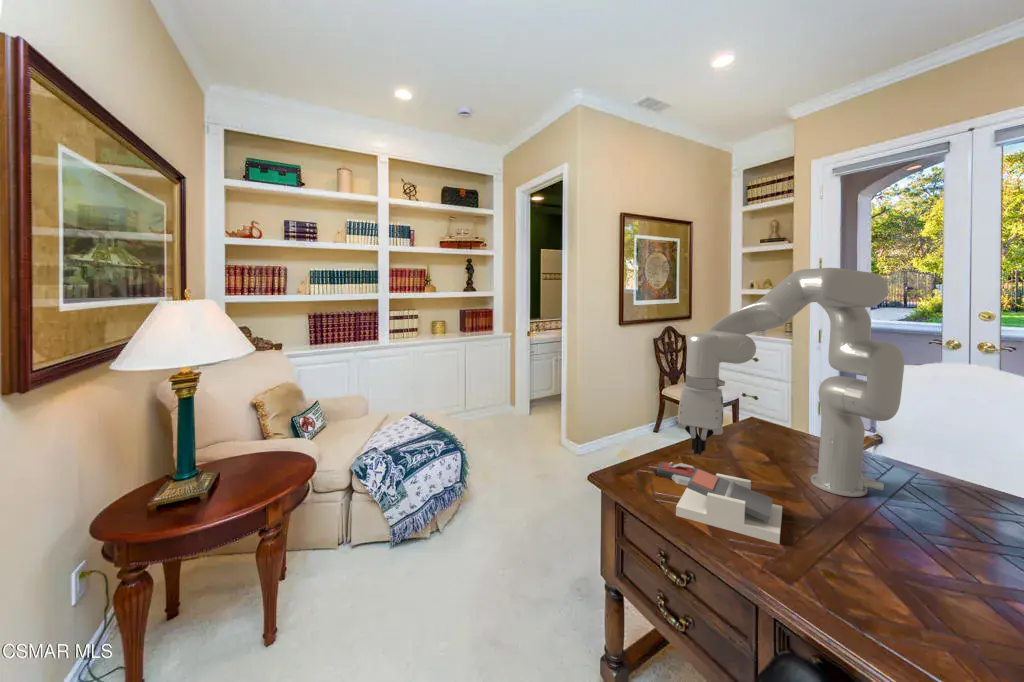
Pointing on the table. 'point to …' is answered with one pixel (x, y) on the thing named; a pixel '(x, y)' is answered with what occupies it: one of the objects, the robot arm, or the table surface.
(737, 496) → the rocker
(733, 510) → the switch housing
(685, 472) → the walkie-talkie
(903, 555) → the table surface
